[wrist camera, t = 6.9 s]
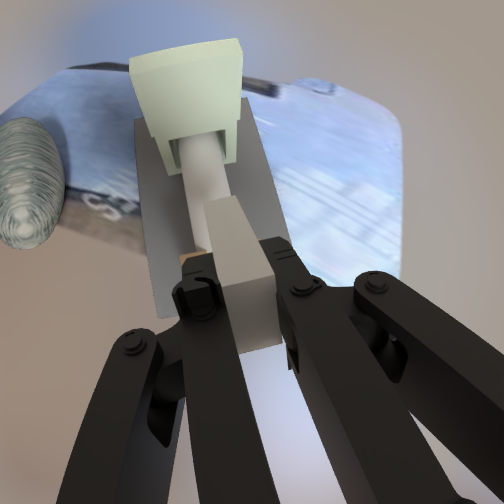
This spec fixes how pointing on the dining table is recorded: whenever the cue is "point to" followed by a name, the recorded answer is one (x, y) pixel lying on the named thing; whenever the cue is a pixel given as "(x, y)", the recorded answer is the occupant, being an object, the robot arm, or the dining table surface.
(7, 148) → the grey rounded lump
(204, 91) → the sleeve
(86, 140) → the dining table surface
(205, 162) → the rig
